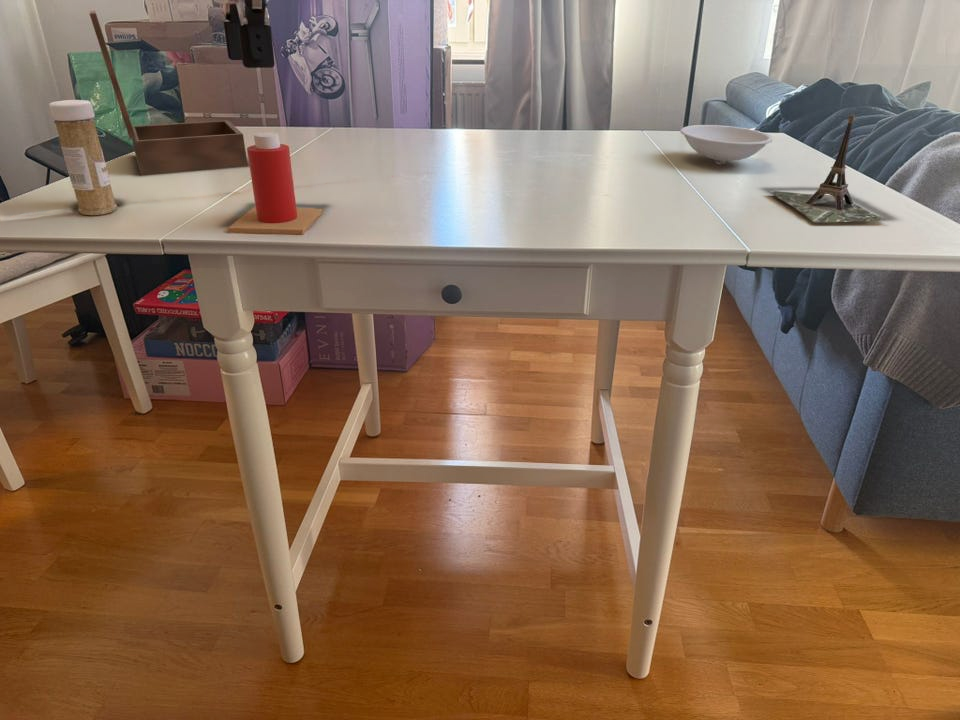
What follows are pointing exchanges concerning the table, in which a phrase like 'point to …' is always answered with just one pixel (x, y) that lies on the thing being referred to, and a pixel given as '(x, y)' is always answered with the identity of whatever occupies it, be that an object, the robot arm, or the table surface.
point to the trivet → (295, 226)
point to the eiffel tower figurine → (831, 205)
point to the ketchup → (272, 179)
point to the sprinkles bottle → (83, 156)
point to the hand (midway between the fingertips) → (250, 63)
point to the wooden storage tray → (188, 147)
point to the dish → (725, 141)
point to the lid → (112, 73)
